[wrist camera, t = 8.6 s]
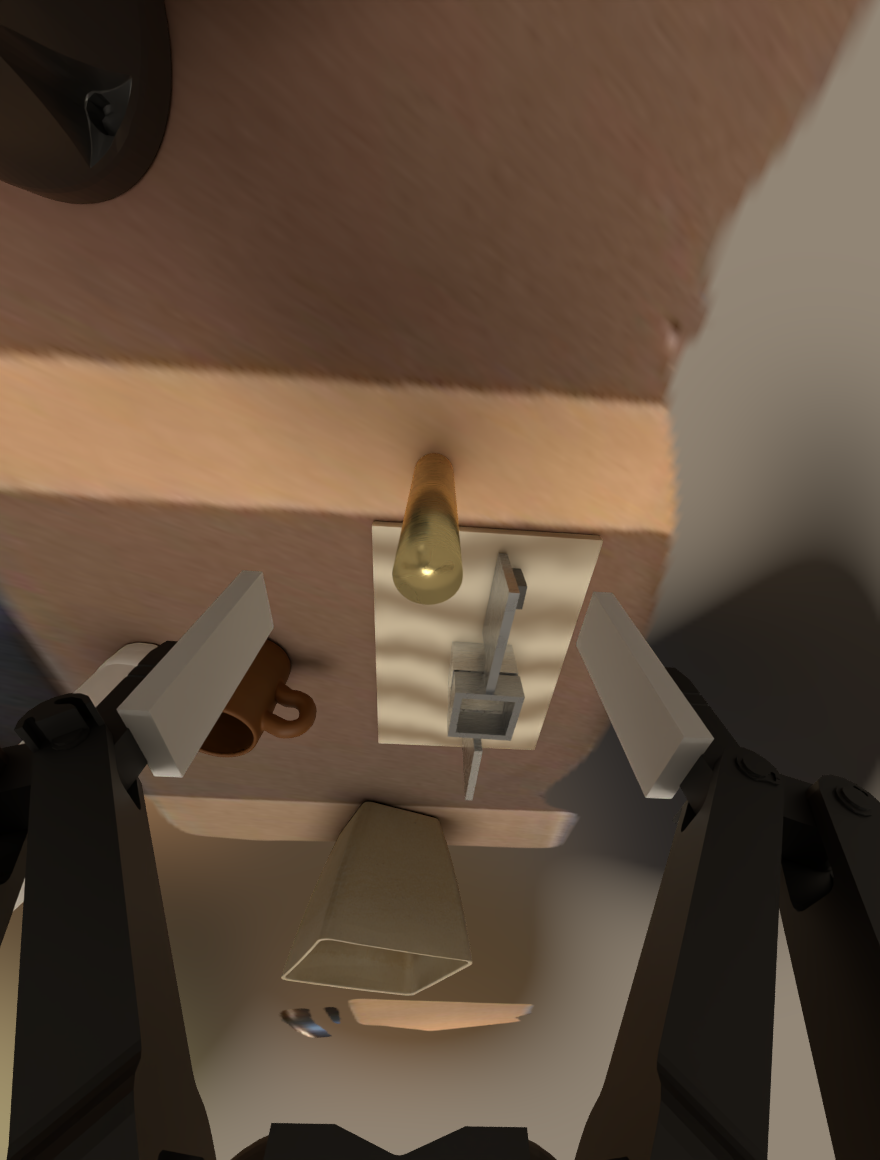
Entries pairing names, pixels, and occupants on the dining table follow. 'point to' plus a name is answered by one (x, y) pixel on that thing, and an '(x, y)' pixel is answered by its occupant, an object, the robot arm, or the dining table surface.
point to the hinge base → (473, 661)
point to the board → (475, 629)
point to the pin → (430, 536)
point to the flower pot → (383, 909)
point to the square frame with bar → (490, 668)
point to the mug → (259, 707)
